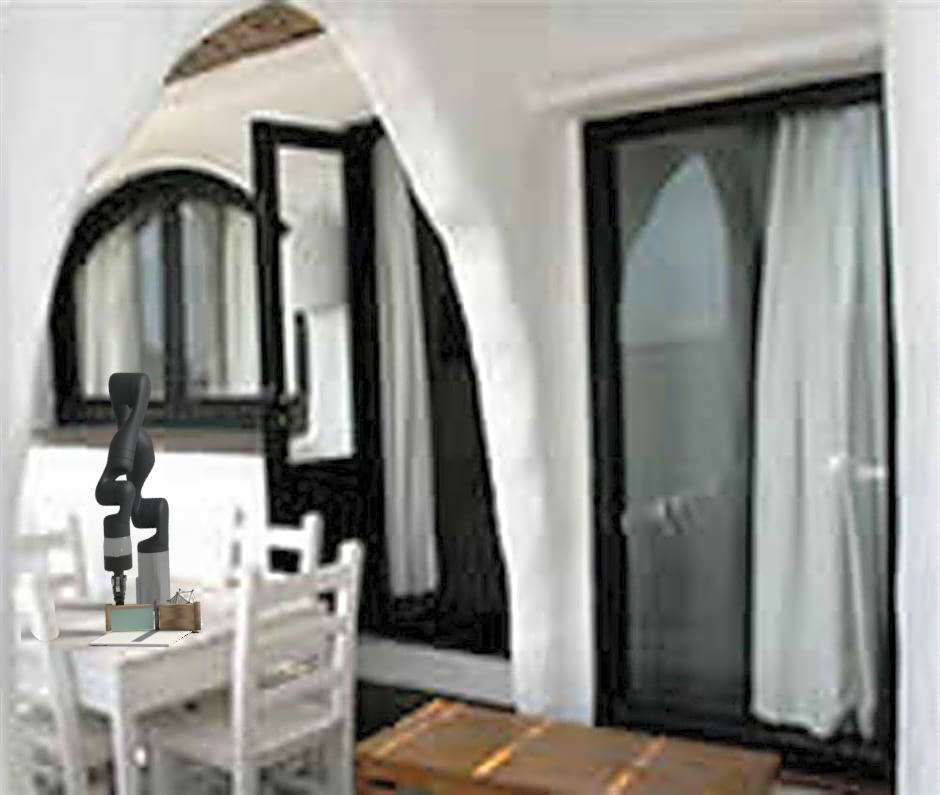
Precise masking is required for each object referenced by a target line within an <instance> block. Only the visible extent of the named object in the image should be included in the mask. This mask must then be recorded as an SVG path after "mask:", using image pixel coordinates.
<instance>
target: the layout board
mask: <svg viewBox="0 0 940 795" xmlns="http://www.w3.org/2000/svg"><path fill="white" fill-rule="evenodd" d="M201 625H203V626H204V623H203V622H201ZM159 627H160V622H159ZM191 631H193V632H198V630H160V629H159V630H155V622H154V628H153V629H140V630H120V631H109V632H108V633H106V634H104V635H102V636H101V637H99V638H96V639H95V640H93V641H91V642H89V643H88V646H89V645H107V646H106V647H171V646H172V645H174V644H175V643H177V642H179V641H180V640H182V639H183V638H185V637H186V636H185V635H186V634H188V633H189V632H191ZM191 633H192V632H191ZM188 635H189V634H188ZM184 636H185V637H184ZM182 637H183V638H182ZM181 638H182V639H181ZM179 639H180V640H179ZM178 640H179V641H178ZM176 641H177V642H176ZM173 643H174V644H173Z"/></svg>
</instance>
